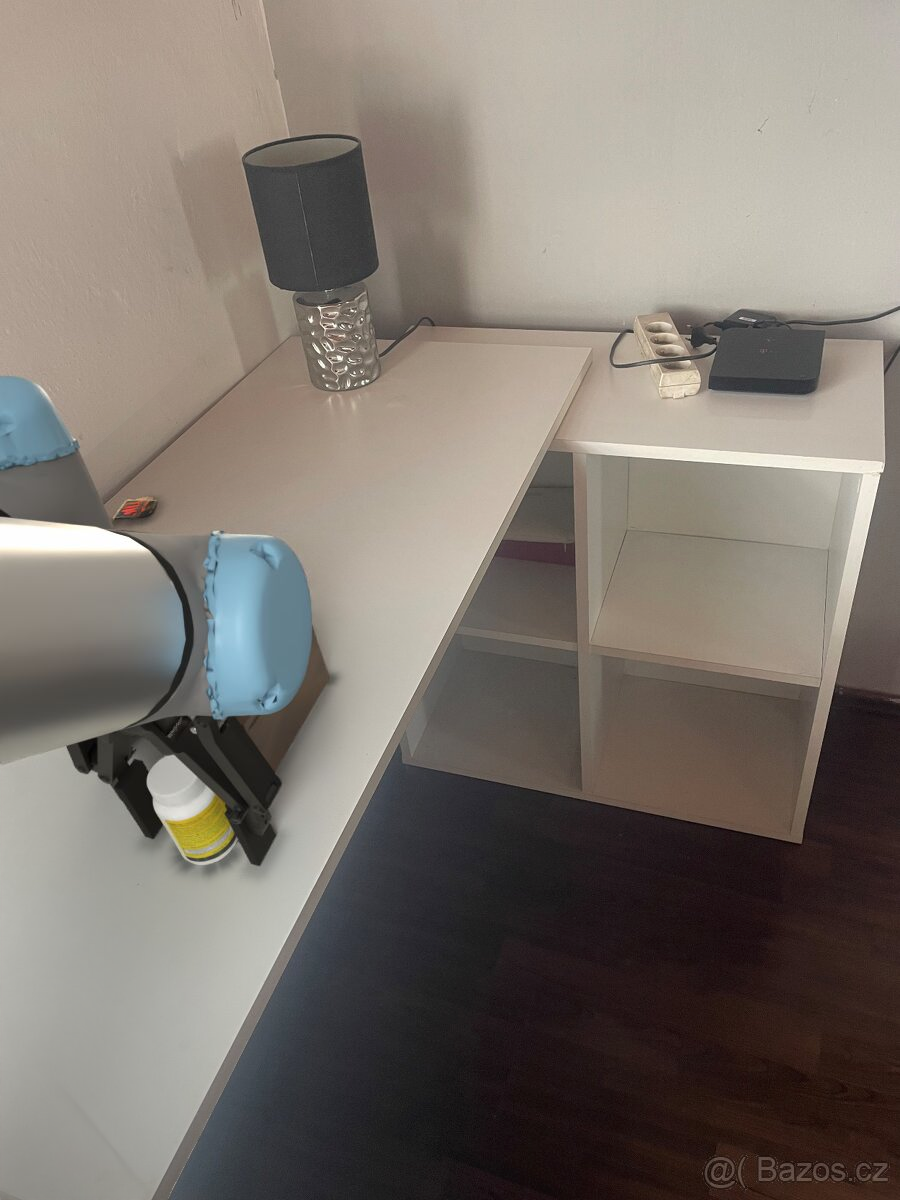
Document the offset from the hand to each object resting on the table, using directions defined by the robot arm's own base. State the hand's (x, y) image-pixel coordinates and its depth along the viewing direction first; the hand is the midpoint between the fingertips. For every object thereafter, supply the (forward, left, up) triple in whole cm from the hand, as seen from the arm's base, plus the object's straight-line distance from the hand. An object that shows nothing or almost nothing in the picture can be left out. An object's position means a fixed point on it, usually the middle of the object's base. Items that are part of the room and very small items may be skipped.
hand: (210, 836), depth 67 cm
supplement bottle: (0, 0, 0) cm, 0 cm away
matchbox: (+39, +34, 0) cm, 52 cm away
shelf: (+12, +6, 0) cm, 13 cm away
